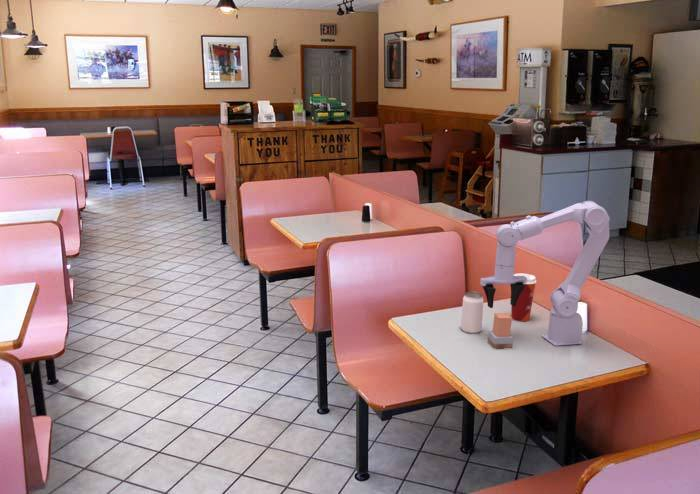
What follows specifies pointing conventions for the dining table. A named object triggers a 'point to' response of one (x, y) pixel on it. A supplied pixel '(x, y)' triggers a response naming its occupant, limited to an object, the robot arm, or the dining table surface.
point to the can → (472, 312)
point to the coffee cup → (524, 300)
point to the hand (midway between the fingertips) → (501, 306)
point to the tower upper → (500, 339)
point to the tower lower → (499, 345)
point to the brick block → (502, 324)
